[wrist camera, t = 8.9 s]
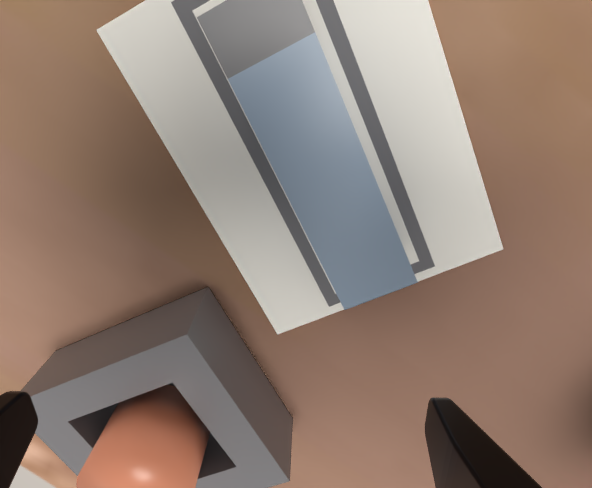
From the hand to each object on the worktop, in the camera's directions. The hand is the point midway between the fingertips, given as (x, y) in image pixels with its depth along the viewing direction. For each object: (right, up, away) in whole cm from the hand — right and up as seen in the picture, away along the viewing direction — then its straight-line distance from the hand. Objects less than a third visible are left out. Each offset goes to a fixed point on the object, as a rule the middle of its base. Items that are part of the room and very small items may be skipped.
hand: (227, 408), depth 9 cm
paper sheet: (+3, +8, +9) cm, 12 cm away
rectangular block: (+3, +8, +8) cm, 12 cm away
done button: (-5, -6, +12) cm, 15 cm away
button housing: (-5, -5, +15) cm, 16 cm away
